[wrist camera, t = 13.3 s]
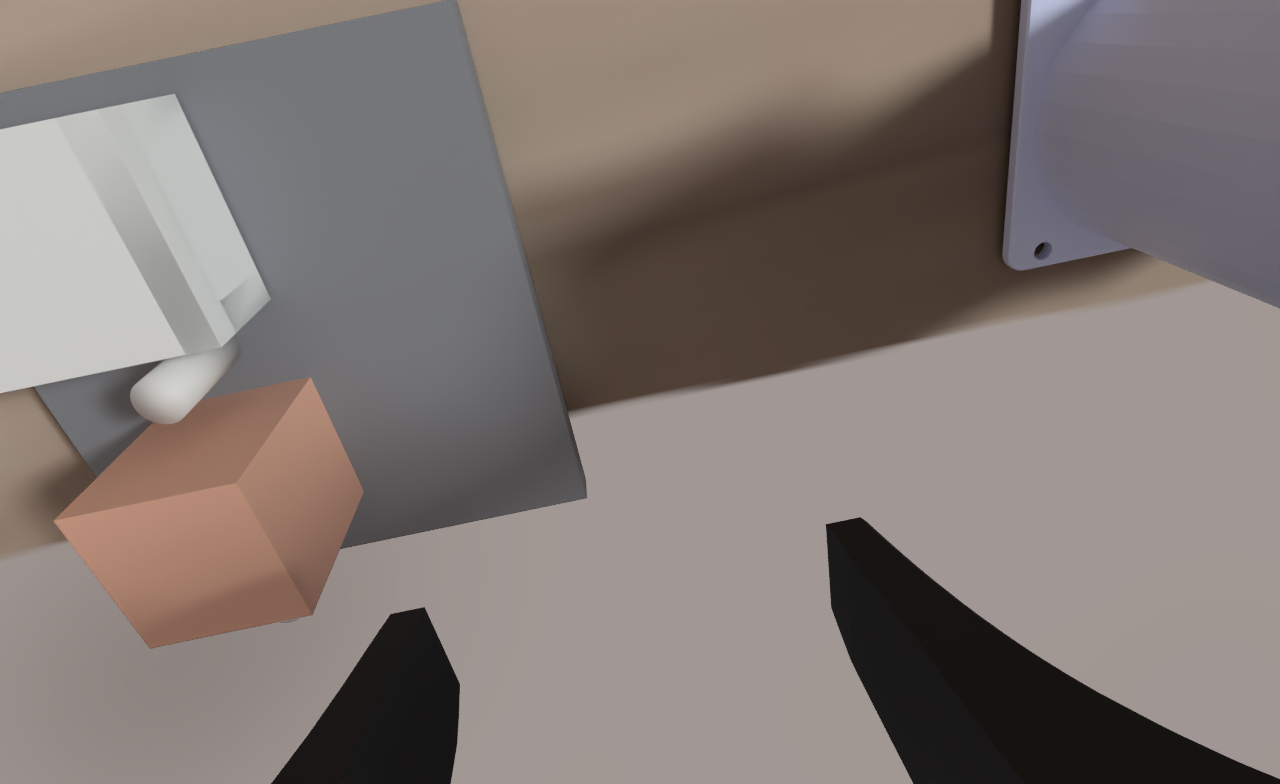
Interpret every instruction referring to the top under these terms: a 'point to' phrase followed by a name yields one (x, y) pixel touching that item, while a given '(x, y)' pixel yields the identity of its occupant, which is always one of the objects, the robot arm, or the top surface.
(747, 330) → the top surface
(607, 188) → the top surface
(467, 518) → the deck
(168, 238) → the cover
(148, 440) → the block
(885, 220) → the top surface
